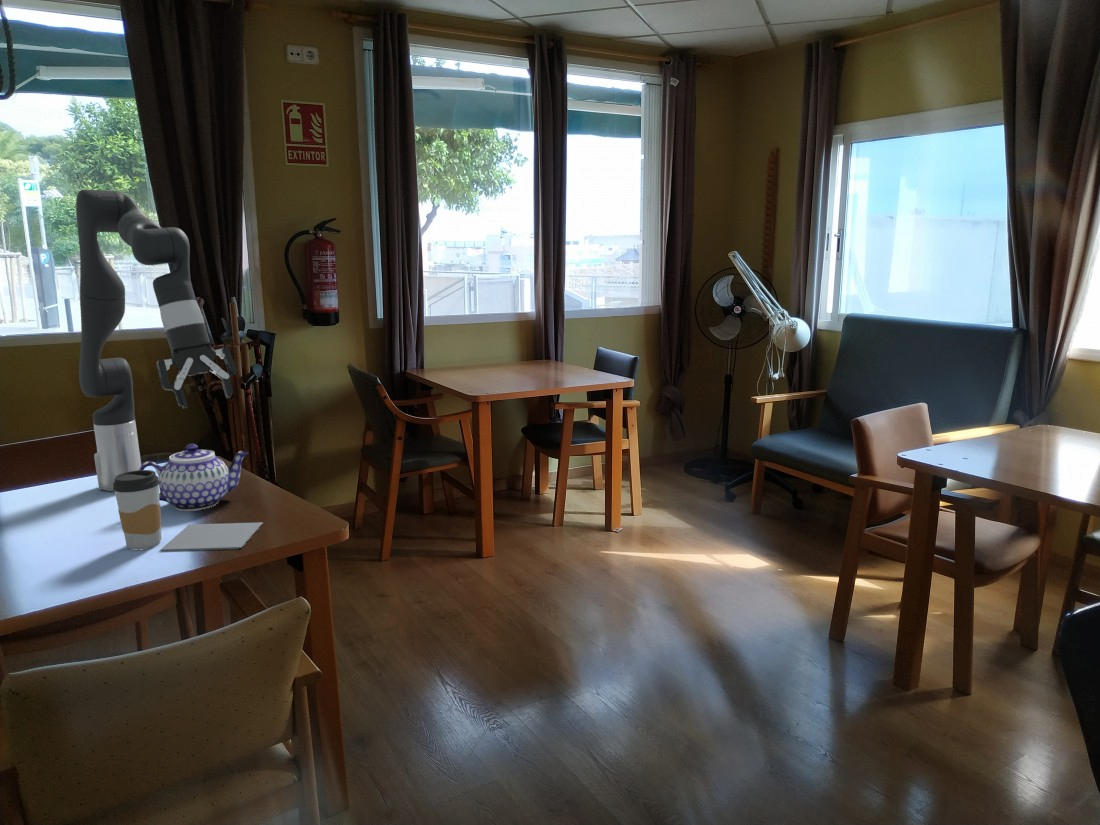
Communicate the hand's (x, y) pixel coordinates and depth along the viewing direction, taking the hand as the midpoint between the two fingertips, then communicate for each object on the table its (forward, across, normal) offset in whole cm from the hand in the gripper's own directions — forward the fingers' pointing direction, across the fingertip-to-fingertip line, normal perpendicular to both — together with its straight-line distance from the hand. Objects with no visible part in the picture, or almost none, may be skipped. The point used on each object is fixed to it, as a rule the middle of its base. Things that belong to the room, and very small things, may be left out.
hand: (207, 402), depth 153 cm
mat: (+28, +5, -6) cm, 29 cm away
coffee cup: (+25, +18, -10) cm, 32 cm away
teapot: (+22, +3, -30) cm, 38 cm away
